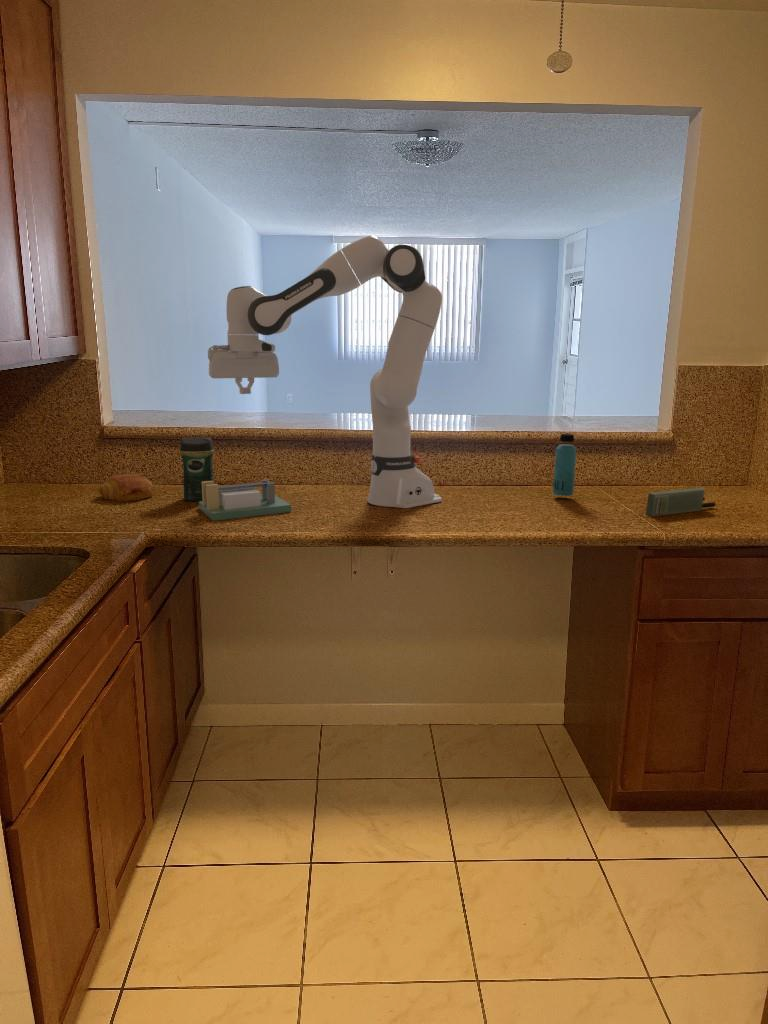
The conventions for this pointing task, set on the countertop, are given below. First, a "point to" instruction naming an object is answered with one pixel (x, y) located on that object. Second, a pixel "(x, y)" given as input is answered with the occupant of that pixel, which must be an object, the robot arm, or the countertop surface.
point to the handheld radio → (676, 501)
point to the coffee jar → (196, 466)
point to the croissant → (126, 488)
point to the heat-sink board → (240, 502)
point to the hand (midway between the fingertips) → (245, 393)
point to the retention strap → (243, 485)
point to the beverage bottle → (564, 467)
